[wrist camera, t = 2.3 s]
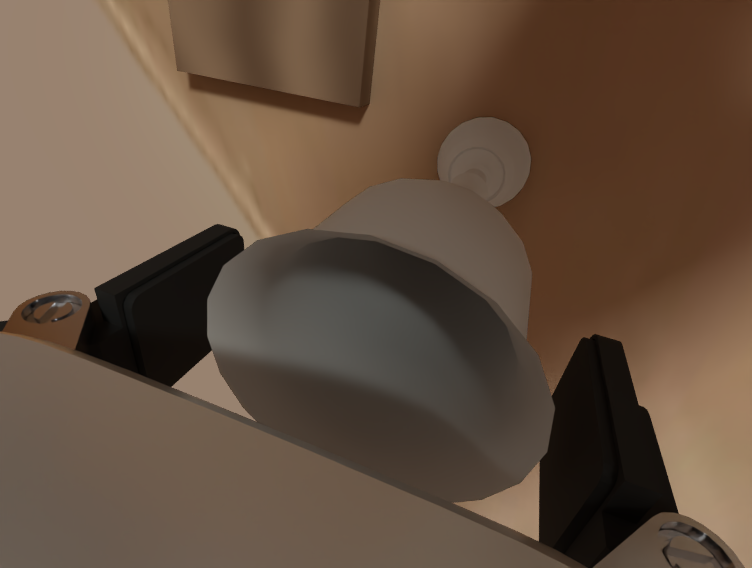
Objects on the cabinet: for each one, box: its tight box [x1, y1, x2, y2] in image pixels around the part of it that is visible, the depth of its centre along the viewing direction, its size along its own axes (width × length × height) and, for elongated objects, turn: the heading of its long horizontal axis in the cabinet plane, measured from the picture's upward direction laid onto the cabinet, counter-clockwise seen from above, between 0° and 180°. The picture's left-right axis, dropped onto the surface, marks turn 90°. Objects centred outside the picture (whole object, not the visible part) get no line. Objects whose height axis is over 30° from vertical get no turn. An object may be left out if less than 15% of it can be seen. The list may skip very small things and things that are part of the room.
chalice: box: [207, 117, 555, 503], centre depth 15 cm, size 7×7×18 cm
